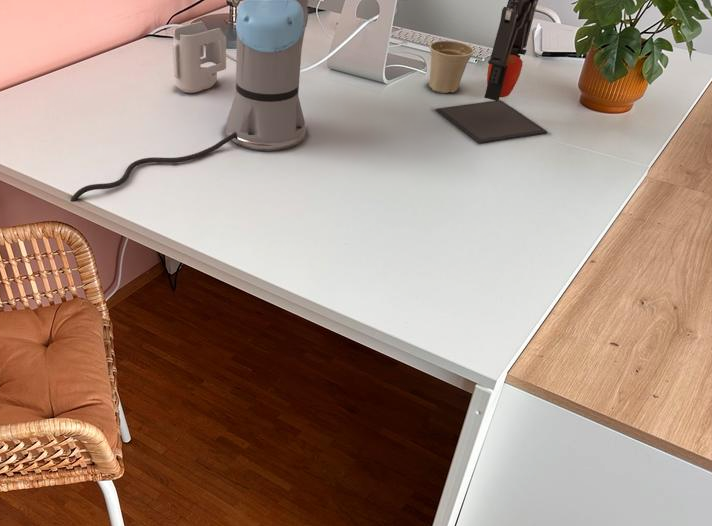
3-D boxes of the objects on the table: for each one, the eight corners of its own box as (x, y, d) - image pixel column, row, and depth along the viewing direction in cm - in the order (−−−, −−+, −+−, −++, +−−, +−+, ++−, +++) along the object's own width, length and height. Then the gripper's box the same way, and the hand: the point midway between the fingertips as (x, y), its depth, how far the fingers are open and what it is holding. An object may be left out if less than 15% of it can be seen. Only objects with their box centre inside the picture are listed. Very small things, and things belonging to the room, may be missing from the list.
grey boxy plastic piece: (228, 83, 154) (228, 25, 146) (185, 98, 148) (183, 38, 140) (208, 74, 158) (207, 17, 149) (165, 88, 151) (161, 29, 143)
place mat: (478, 143, 136) (479, 141, 136) (435, 110, 147) (436, 108, 147) (547, 133, 140) (547, 131, 140) (500, 101, 151) (500, 99, 151)
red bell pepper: (501, 86, 143) (510, 48, 138) (521, 98, 139) (531, 59, 134) (475, 91, 141) (484, 52, 136) (495, 102, 137) (505, 63, 132)
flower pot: (462, 81, 159) (471, 41, 153) (467, 98, 152) (477, 57, 146) (420, 78, 160) (427, 38, 154) (423, 95, 153) (431, 54, 147)
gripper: (534, -22, 117) (498, 114, 132) (569, -44, 128) (532, 82, 144) (491, -30, 120) (461, 104, 135) (529, -51, 131) (497, 74, 147)
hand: (498, 92), depth 140 cm, fingers closed on red bell pepper, 6 cm apart
